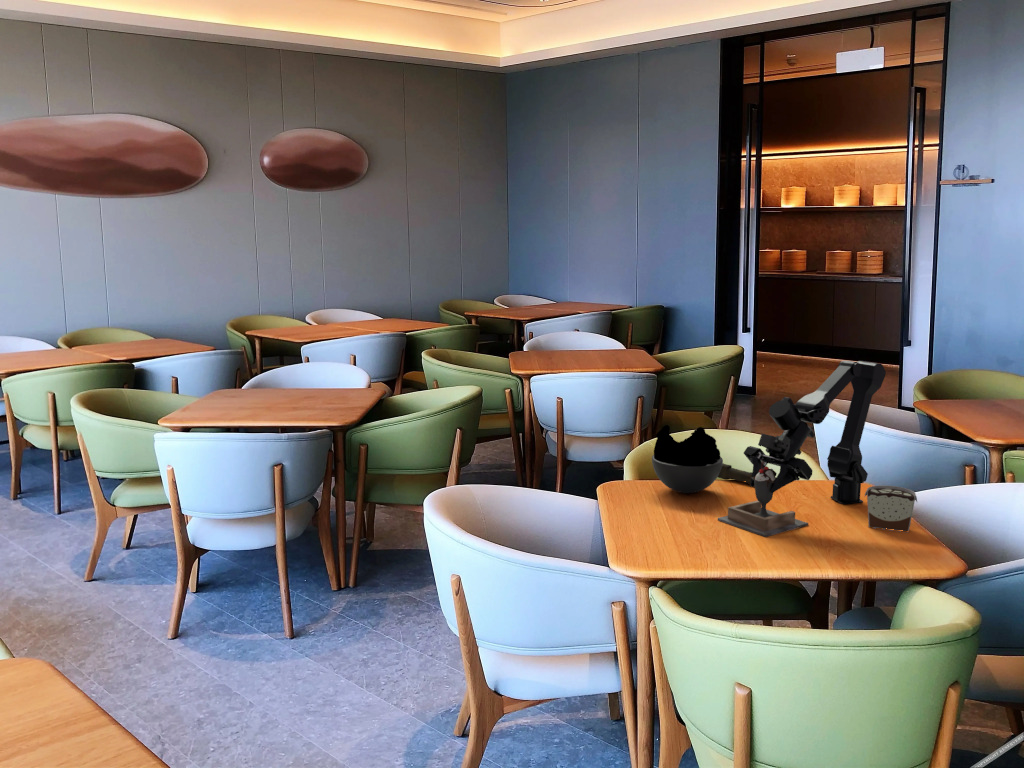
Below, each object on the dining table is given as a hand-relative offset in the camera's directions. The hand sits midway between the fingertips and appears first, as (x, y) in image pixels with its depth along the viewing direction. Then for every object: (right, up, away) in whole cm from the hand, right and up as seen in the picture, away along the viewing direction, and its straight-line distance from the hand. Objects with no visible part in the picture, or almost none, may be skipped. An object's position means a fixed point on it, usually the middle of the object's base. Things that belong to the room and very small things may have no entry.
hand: (760, 488), depth 239 cm
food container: (+32, -10, -1) cm, 34 cm away
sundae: (+1, -8, +2) cm, 8 cm away
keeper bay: (+1, -9, +2) cm, 9 cm away
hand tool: (+4, -3, +40) cm, 40 cm away
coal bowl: (-13, -4, +30) cm, 33 cm away
